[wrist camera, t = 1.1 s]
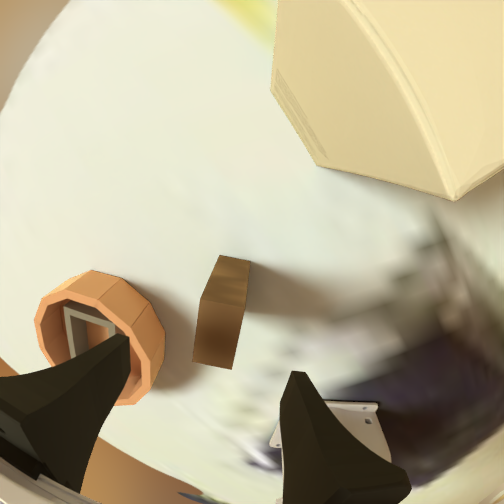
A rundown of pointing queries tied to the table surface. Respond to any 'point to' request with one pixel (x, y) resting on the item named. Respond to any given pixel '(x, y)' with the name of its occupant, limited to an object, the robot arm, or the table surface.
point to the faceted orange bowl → (102, 326)
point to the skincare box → (396, 88)
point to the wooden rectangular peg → (221, 313)
